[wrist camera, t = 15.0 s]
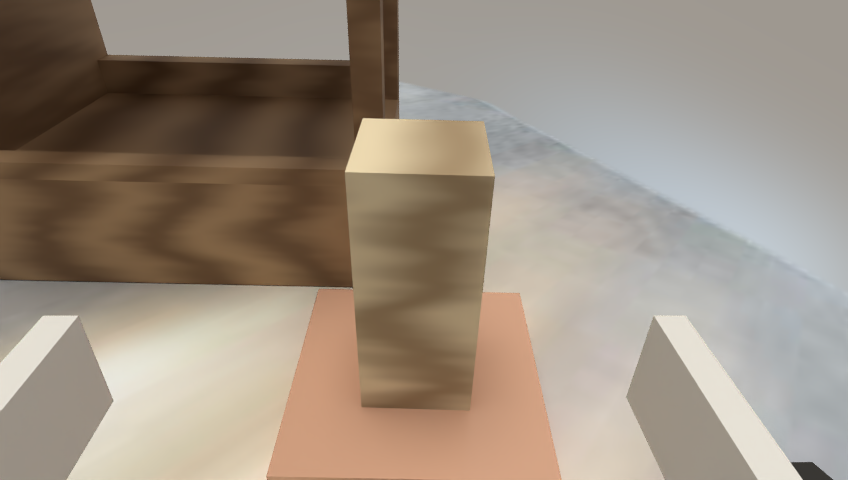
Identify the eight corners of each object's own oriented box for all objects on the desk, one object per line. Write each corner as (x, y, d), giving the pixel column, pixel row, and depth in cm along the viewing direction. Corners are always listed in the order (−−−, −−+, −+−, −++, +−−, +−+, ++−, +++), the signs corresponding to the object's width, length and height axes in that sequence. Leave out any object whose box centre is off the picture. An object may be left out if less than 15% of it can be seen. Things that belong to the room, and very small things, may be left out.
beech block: (361, 407, 24) (344, 171, 17) (372, 331, 28) (362, 118, 22) (469, 410, 24) (494, 176, 17) (465, 334, 28) (483, 121, 21)
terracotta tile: (268, 484, 21) (266, 476, 21) (319, 296, 31) (318, 288, 31) (559, 490, 21) (562, 482, 21) (518, 300, 31) (519, 293, 31)
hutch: (-2, 279, 32) (-321, -303, 18) (124, 166, 45) (-2, -220, 31) (387, 287, 32) (373, -285, 18) (399, 172, 46) (397, -210, 31)
